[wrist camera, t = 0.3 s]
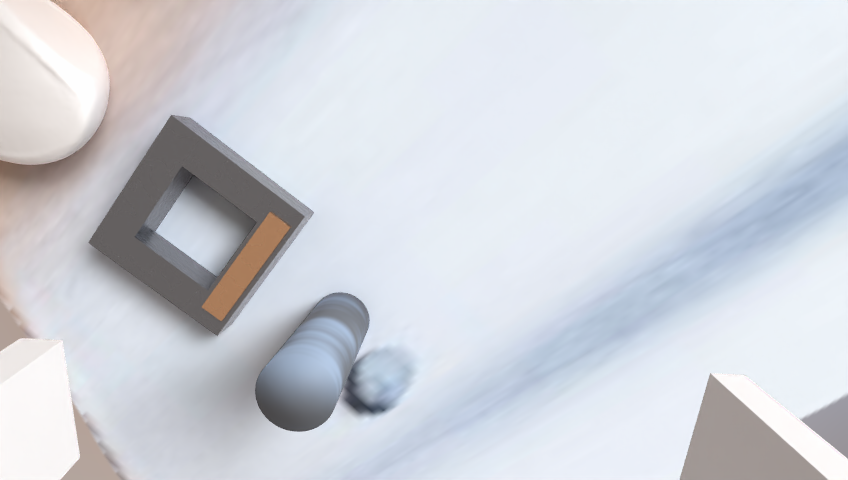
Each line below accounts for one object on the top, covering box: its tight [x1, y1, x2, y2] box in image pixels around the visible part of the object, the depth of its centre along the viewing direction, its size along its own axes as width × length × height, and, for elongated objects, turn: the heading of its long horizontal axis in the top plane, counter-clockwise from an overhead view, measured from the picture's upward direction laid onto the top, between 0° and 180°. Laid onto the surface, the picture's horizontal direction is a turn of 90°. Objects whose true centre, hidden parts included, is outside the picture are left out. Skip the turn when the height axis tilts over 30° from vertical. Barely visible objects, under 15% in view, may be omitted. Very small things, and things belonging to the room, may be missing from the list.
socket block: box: [89, 115, 314, 336], centre depth 36 cm, size 12×12×3 cm
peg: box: [255, 293, 369, 432], centre depth 32 cm, size 4×4×12 cm
